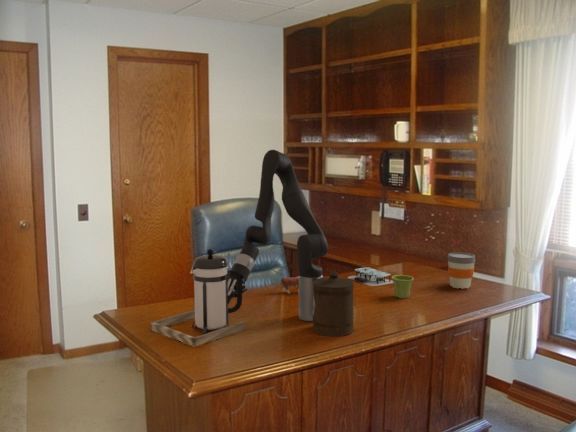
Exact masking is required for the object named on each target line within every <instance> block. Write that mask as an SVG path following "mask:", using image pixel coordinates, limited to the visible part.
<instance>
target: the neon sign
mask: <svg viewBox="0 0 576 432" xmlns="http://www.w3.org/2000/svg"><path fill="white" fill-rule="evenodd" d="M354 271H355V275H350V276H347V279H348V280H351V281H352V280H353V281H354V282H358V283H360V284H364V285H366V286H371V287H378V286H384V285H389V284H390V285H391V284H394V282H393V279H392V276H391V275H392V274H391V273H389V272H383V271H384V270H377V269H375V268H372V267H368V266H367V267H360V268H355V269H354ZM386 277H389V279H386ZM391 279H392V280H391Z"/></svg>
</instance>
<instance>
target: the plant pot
mask: <svg viewBox="0 0 576 432" xmlns="http://www.w3.org/2000/svg"><path fill="white" fill-rule="evenodd" d="M391 279H392V281H393V290H394V297H395V298H399V299H407V298H409V297H410V292H411V288H412V284H413V281H414V277H413V276H410V275H404V274H397V275H392V276H391Z"/></svg>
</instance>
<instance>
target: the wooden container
mask: <svg viewBox="0 0 576 432" xmlns="http://www.w3.org/2000/svg"><path fill="white" fill-rule="evenodd" d="M328 276H329V277H327V276H326V277H323V278H320V279H317V280H315V281H314V294H313V321H312V330H313V332H315V334H318V335H321V336H324V337H345V336H348V335H350V334H352V333H353V332H354V318H355V317H354V316H355V315H354V314H355V313H354V310H355V309H354V288H355V287H354V282H353V281H352V280H351V279H350V280H348V278H344V277H339V273H338V272H337V271H335V270H332V271H331V272H329V273H328Z"/></svg>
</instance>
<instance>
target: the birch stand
mask: <svg viewBox="0 0 576 432" xmlns="http://www.w3.org/2000/svg"><path fill="white" fill-rule="evenodd" d="M192 320H195V309H193V310H190V311H185V312H181V313H178V314H175V315H172V316H167V317H164V318H161V319H158V320H154V321H150V322H149V325H150V326H149V328H150V331H151V330H152V331H151V332H153V331H155V332H154V333H156V332H157V333H156V334H158V333H160V334H159V335H161V334H162V335H161V336H163V335H165V336H164V337H166V336H168V337H167V338H169V337H170V338H169V339H171V338H173V339H172V340H174V339H176V340H179V341H181V342H184V343H186V344H189V345H192V346H196V345H199V344H202V343H205V342H209V341H212V340H215V339H218V340H220V339H223V338H226V337H229V336H231V335H232V336H233V335H235V334H237V333H241V332H244V331H245V330H247V321H245V320H243V321H239V322H237V323H234V324H231V325H230V324H229V325H230V326H228V325H227V326H226V327H222V328H219V329H214V330H211V331H210V332H209V331H208V333H206V334H201V335H197V336H192V335H189V334H186V333H184V332H181V331H179V330H176V329H174V328H171V327H170V325H171V326H173V325H177V324H180V323H184V322H187V321H192ZM167 326H168V327H167ZM219 338H220V339H219ZM176 340H175V341H176ZM179 341H178V342H179ZM215 341H216V340H215ZM181 342H180V343H181ZM212 342H213V341H212ZM184 343H183V344H184ZM209 343H210V342H209ZM186 344H185V345H186ZM189 345H188V346H189Z"/></svg>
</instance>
